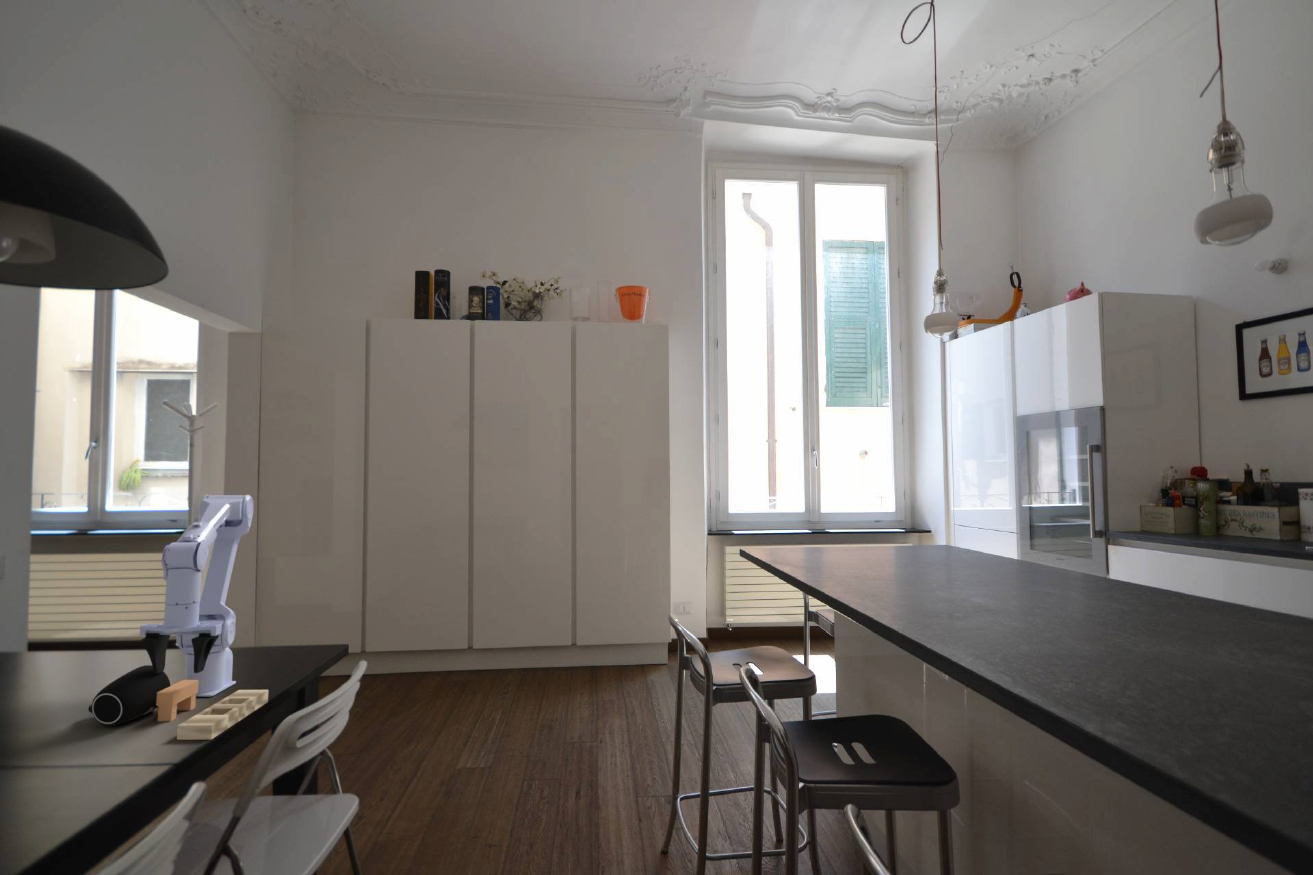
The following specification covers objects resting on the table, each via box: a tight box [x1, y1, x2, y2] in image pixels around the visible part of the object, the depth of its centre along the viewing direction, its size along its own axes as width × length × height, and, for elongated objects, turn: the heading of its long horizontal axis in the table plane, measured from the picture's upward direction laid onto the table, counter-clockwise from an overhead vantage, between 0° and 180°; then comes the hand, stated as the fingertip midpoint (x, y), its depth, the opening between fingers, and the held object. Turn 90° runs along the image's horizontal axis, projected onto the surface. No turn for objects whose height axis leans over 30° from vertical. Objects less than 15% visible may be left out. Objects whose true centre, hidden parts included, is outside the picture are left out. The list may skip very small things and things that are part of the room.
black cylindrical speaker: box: [87, 664, 172, 726], centre depth 132 cm, size 12×9×10 cm
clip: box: [156, 679, 199, 722], centre depth 135 cm, size 8×3×6 cm, turn 3°
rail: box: [176, 689, 269, 741], centre depth 132 cm, size 20×6×2 cm, turn 4°
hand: (179, 671), depth 135 cm, fingers open, 7 cm apart
